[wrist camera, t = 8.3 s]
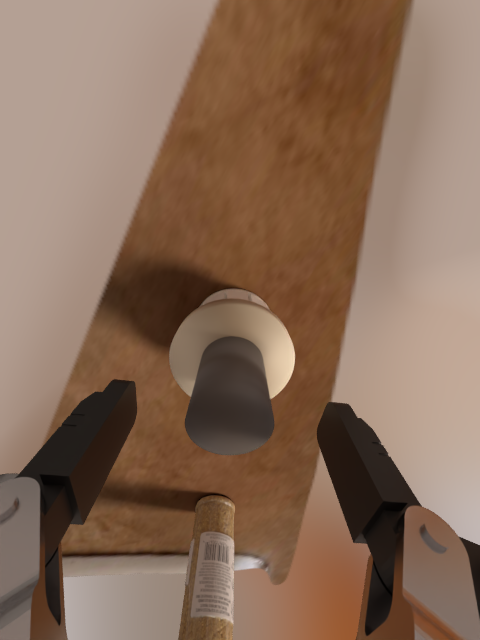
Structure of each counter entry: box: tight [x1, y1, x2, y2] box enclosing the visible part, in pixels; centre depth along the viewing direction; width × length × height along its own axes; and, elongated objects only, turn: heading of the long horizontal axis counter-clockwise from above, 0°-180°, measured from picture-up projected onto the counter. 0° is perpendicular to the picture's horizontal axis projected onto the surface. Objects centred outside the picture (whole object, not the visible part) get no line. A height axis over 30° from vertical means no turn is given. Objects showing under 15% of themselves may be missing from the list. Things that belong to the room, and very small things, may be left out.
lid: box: [169, 298, 295, 455], centre depth 11 cm, size 7×7×5 cm
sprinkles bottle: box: [178, 495, 235, 640], centre depth 20 cm, size 5×5×14 cm
